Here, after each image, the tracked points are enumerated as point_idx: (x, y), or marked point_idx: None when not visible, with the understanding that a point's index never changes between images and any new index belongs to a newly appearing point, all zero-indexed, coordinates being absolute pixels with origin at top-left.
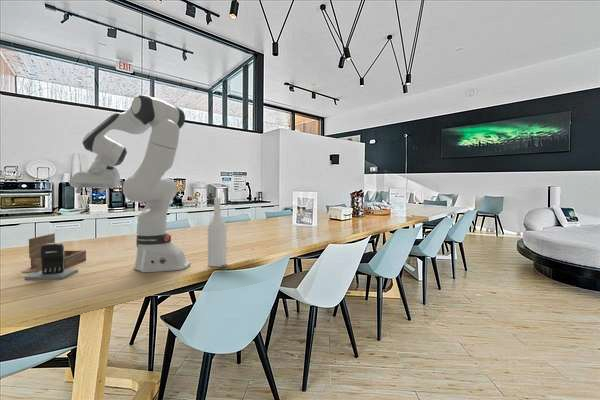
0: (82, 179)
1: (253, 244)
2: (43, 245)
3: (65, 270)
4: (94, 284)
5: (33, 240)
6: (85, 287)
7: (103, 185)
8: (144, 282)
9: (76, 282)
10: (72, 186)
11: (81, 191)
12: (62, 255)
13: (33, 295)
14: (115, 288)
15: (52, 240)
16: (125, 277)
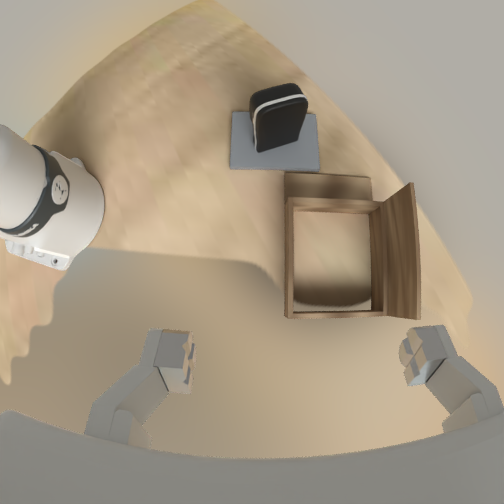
0: (492, 478)
1: None
2: (294, 84)
3: (256, 158)
4: (151, 85)
5: (408, 200)
6: (161, 72)
7: (124, 418)
8: (73, 103)
9: (190, 94)
10: None
11: (406, 378)
12: (249, 113)
13: (228, 43)
14: (112, 72)
15: (404, 304)
16: (107, 126)
